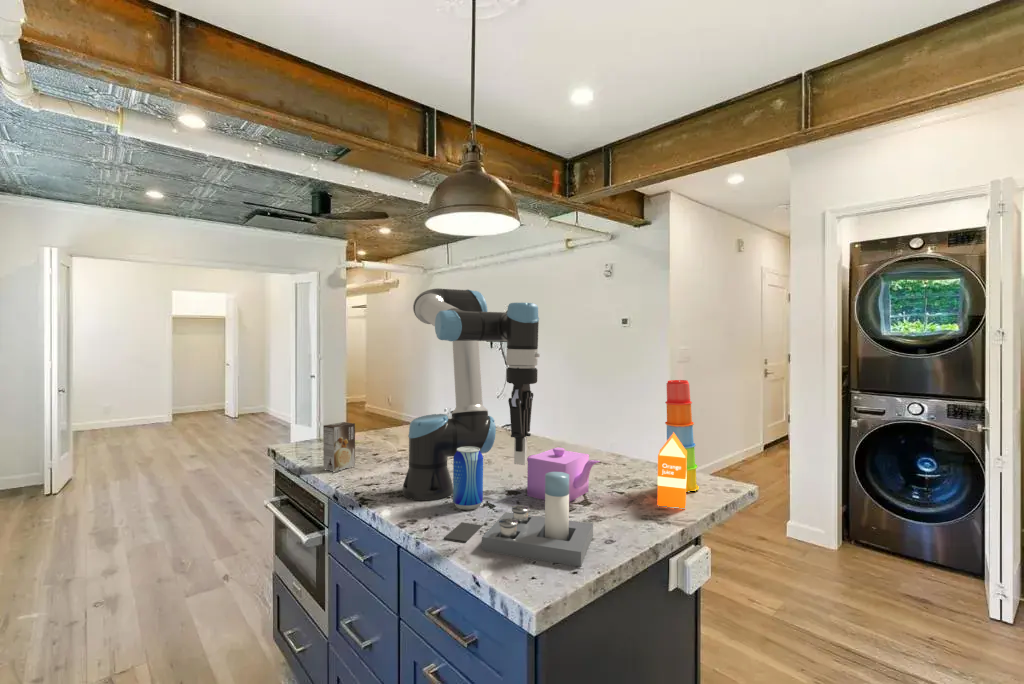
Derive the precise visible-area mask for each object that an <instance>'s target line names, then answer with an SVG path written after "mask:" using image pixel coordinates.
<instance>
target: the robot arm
mask: <svg viewBox="0 0 1024 684" xmlns="http://www.w3.org/2000/svg"><path fill="white" fill-rule="evenodd" d="M487 305H488V304H487V301H486V299H485V296H484V295H483V294H482V293H481V292H480V291H477V290H470V289H451V288H432V289H431V288H430V289H427V290H424V291H423V292H421V293H420V294H419V295H418V296H417V297H416V298H415V299H414V301H413V305H412V306H413V307H412V310H413V313H414V316H415V318H417V319H418V321H420V322H422V323H423V324H425V325H426V324H427V325H432V326H433V327H434V331H435V335H436V338H437V339H438V340H440V341H448V342H452V354H453V356H452V358H453V359H452V360H453V373H454V374H453V375H454V393H455V395H454V396H455V407H454V409H453V410H452V412H451V418H449V416H448V415H447V414H445V413H437V414H436V413H434V414H432V413H431V414H428V415H422V416H419V417H416V418H414V419H412V420H411V421H410V423H409V426H408V427H409V429H408V468H407V472H406V476H405V478H404V481H403V485H402V495H403V497H405V498H407V499H410V500H415V501H435V500H439V499H444V498H447V497H449V496H451V494H452V495H453V480H452V478H451V475H450V471H449V468H448V458H449V457H454V455H455V454H456V452H457V448H460V447H466V446H472V447H478V448H480V452H481V454H486V453H488V452H490V450H491V449H492V448H493V446H494V443H495V440H496V434H497V433H496V432H497V429H496V428H497V427H496V422H495V419H494V417H493V416H491V415H489V411H488V409H487V408H486V407H485V406H484V405H483V391H482V388H483V387H482V374H481V360H480V359H481V358H480V346H479V345H480V343H479V342H503V343H504V342H506V357H505V358H506V361H505V362H506V365H507V366H508V367H506V375H505V376H506V380H505V381H506V382H507V384H512V385H513V386H512V390H511V393H510V394H511V397H508V401H507V403H508V406H509V417H510V418H509V419H510V432H511V435H510V437H511V438H513V439H514V444H513V445H514V452H513V453H514V454H513V458H514V459H513V464H514V465H520V466H525V465H528V461H527V458H528V456H527V453H528V437H531V435H532V434H531V433H530V431H531V419H532V407H533V406H532V405H533V398H534V392H532V390H531V385H534V384H537V382H538V368H537V367H536V366H538V358H540V354H541V353H538V352H539V351H538V347H539V320H540V318H539V307H538V305H537V304H536V303H533V302H510V303H509V304H508V305H507V311H506V312H505V311H504V312H503V311H501V312H500V311H499V312H498V311H488V306H487Z"/></svg>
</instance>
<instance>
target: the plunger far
mask: <svg viewBox="0 0 1024 684" xmlns="http://www.w3.org/2000/svg"><path fill="white" fill-rule="evenodd" d="M529 512H530V508H529V506H527V505H521V504H519V505H514V506H512V507H511V513H513V519H515V520H517V521H518V523H522V524H527V523H528V515H529Z"/></svg>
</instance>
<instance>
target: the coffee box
mask: <svg viewBox="0 0 1024 684" xmlns="http://www.w3.org/2000/svg"><path fill="white" fill-rule="evenodd" d="M322 427H323V428H322V429H323V470H324V469H326V470H330V471H338V470H341V471H343V470H342V469H345V468H349V467H352V466H355V467H356V423H354V422H348V421H343V422H337V423H331V424H330V423H329V424H324V425H323V426H322ZM352 468H353V467H352ZM349 469H350V468H349ZM326 470H325V471H326ZM345 470H346V469H345ZM330 471H329V472H330ZM338 472H339V471H338Z"/></svg>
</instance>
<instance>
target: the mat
mask: <svg viewBox="0 0 1024 684" xmlns="http://www.w3.org/2000/svg"><path fill="white" fill-rule="evenodd" d="M483 526H484V525H482V524H476V523H471V522H463V521H462V522H460V523H459V524H457V525H456V526H455V528H453V529H452V530H451V531H449V533H447V534H446V535H445V536H444V537H443V540H446V541H453V542H458V543H464V544H466V543H467V542H468V541H469V540H471V538H473V536H474V535H475V534H476V533H478V531H479V530H480V529H481V528H482V527H483Z"/></svg>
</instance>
